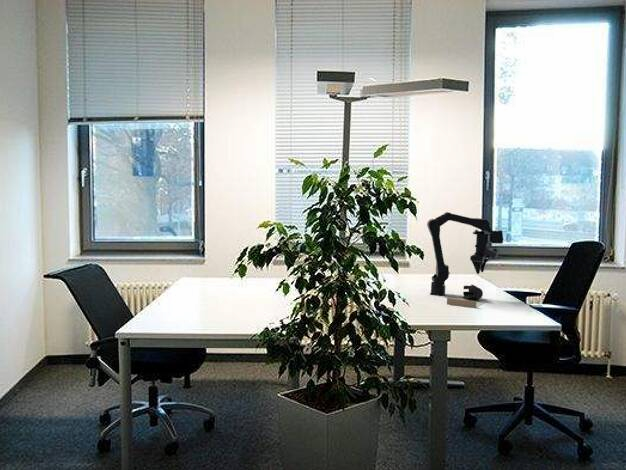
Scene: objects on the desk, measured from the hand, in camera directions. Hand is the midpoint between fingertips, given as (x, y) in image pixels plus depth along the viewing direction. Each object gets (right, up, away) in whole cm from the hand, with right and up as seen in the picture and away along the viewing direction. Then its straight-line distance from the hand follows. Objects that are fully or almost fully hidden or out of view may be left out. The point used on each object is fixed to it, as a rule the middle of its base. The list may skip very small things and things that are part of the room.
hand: (480, 273), depth 336 cm
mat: (-12, -14, -19) cm, 27 cm away
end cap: (-6, -13, -9) cm, 17 cm away
